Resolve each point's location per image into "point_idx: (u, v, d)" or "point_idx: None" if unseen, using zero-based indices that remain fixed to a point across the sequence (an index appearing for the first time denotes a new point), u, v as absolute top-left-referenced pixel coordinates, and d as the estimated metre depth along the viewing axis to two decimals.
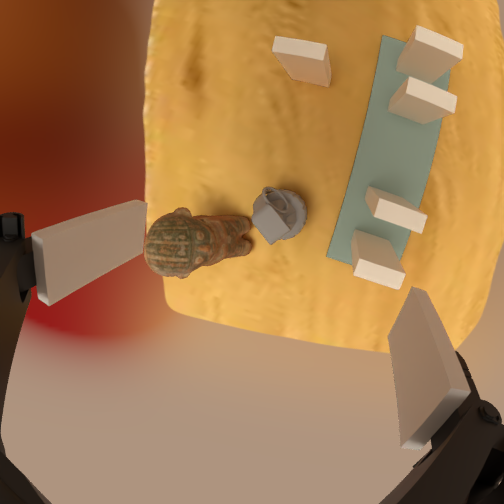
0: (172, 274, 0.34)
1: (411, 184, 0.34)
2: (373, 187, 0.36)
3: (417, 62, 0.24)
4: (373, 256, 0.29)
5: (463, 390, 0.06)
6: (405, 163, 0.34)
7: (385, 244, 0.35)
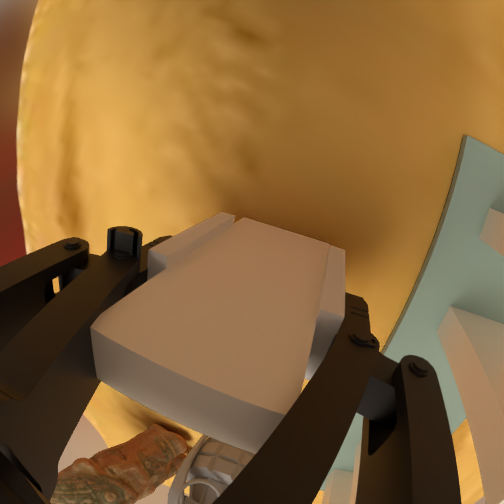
0: None
1: None
2: None
3: None
4: None
5: (335, 315, 0.08)
6: None
7: None
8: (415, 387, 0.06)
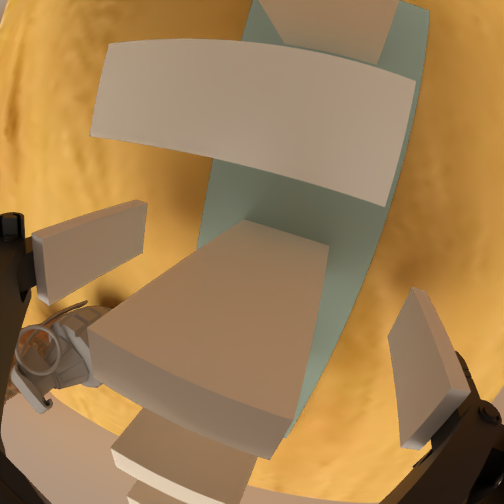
0: None
1: None
2: None
3: None
4: None
5: (463, 390, 0.06)
6: None
7: None
8: None
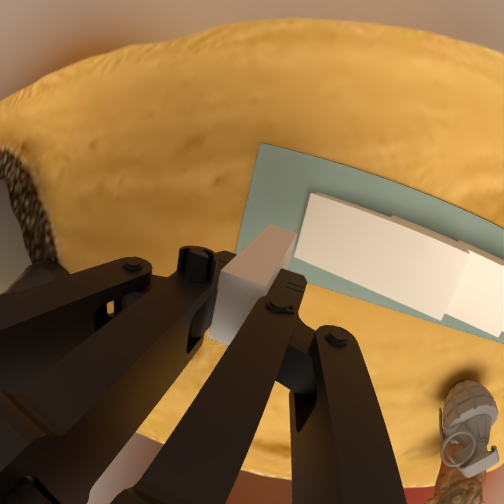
0: None
1: (472, 239, 0.20)
2: None
3: None
4: None
5: (258, 283, 0.09)
6: None
7: None
8: (333, 358, 0.07)
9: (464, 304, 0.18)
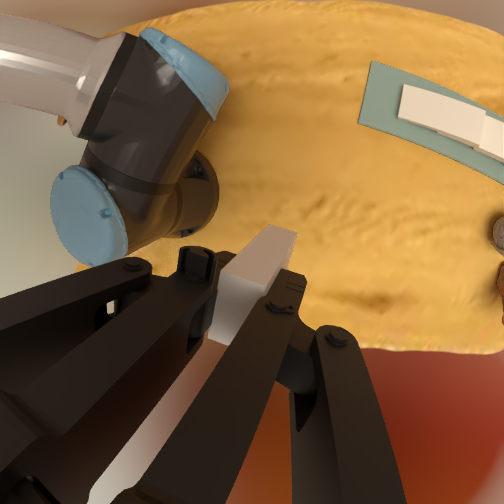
0: None
1: None
2: None
3: None
4: None
5: (258, 284, 0.09)
6: None
7: None
8: (333, 358, 0.07)
9: (489, 142, 0.29)
